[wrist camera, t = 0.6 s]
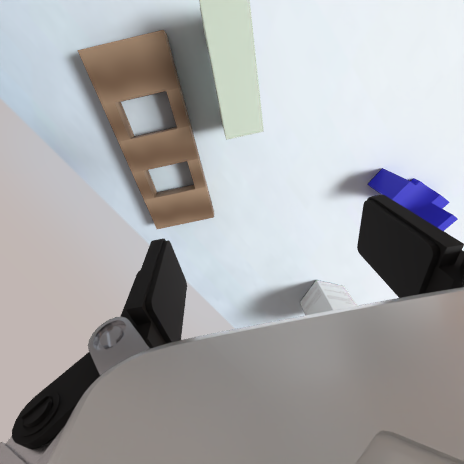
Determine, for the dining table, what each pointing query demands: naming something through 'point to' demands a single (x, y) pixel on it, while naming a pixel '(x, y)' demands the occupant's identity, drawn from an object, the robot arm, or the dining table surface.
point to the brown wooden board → (156, 143)
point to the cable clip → (414, 198)
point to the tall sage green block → (233, 64)
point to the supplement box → (326, 298)
